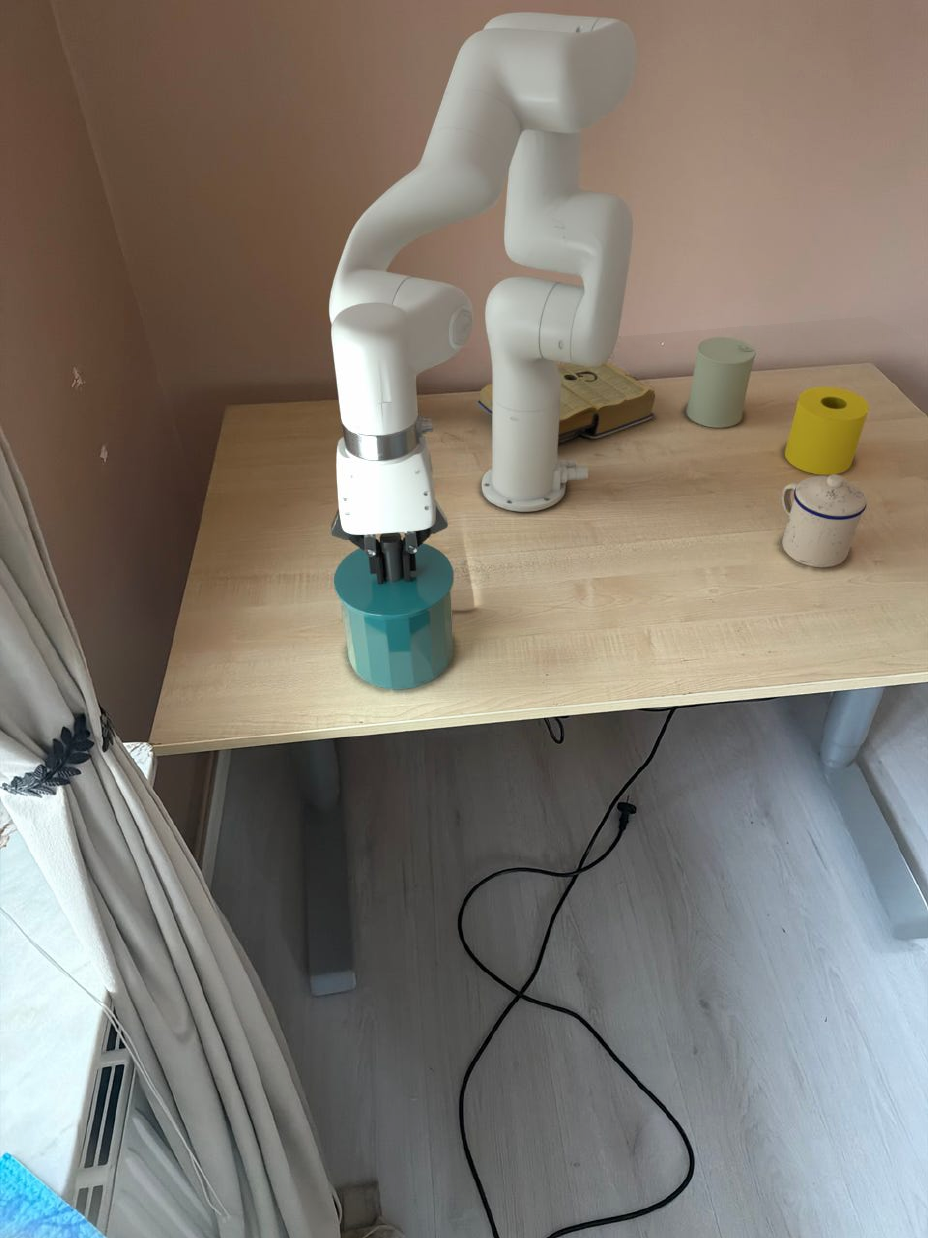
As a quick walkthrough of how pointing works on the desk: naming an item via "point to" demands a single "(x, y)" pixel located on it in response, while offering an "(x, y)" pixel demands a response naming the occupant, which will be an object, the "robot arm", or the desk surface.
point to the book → (594, 401)
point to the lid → (394, 581)
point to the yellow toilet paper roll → (826, 430)
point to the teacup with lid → (821, 519)
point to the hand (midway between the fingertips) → (393, 574)
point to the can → (720, 381)
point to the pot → (400, 646)
